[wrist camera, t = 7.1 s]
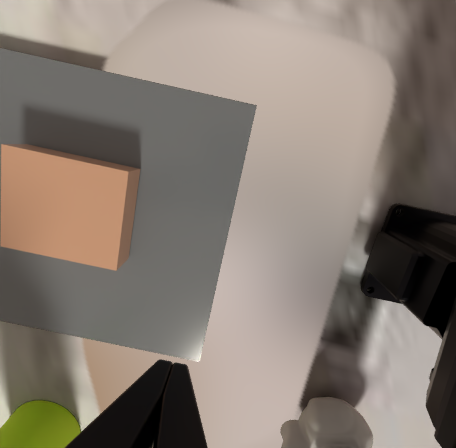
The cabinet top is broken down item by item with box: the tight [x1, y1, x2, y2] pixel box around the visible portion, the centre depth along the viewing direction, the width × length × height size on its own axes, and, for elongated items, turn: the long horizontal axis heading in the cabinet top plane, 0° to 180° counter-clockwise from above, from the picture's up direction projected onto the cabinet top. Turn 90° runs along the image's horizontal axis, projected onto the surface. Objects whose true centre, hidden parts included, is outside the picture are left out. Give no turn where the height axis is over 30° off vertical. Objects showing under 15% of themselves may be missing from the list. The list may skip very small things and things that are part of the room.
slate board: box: [0, 48, 256, 362], centre depth 20 cm, size 16×18×1 cm
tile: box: [1, 144, 140, 271], centre depth 18 cm, size 2×6×7 cm
